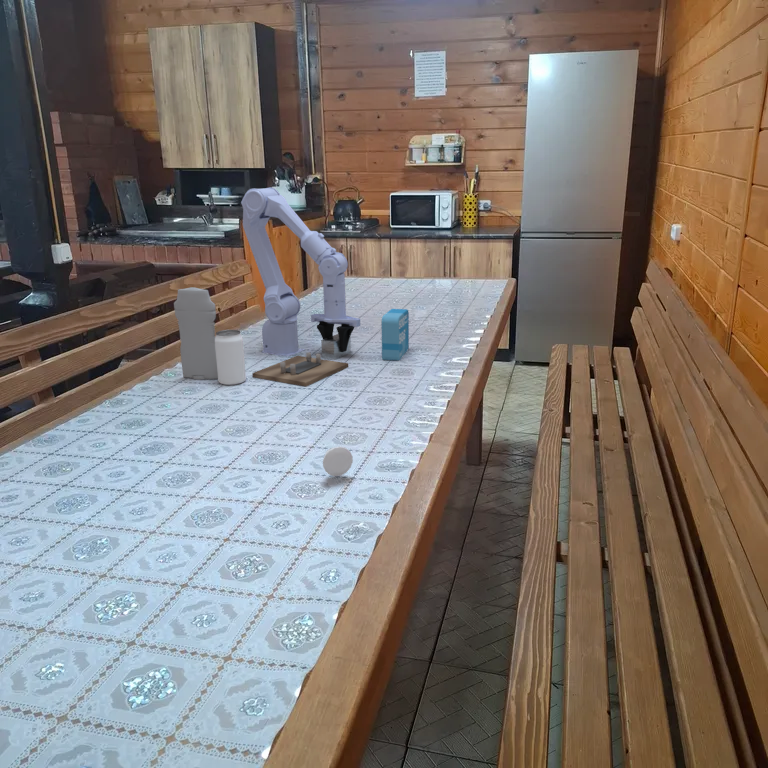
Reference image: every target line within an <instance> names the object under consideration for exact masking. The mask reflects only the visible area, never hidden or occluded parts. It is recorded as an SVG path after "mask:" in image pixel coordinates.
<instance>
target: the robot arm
mask: <svg viewBox="0 0 768 768" xmlns="http://www.w3.org/2000/svg"><path fill="white" fill-rule="evenodd" d="M240 204H241V207H242V209H243V210H242V211H243V212H242V227H243V230H244V233H245V237H246V239H247V243H248V244H249V247H250V250H251V253H252V255H253V257H254V260H255V263H256V267H257V268H258V272H259V274H260V277H261V280H262V282H263V285H264V289H265V292H264V296H263V301H264V306H265V307H264V313H265V316H266V318H267V320H266V321H264V323H263V325H262V328H261V335H262V336H261V337H262V351H261V353H262V354H270V355H276V356H281V357H291V356H293V355H296V354H298V353H301V352H304V351H306V349H305V348H301V347H299V336H298V335H299V333H298V332H299V331H298V317H297V316H298V314H299V313H300V311H301V302H300V300H299V298H298V297H297V296H296V295H295V293H294V292H293V289H292V288H291V287H290V286H289V285H288V284H286V282H285V279H284V276H283V274H282V273H283V272H282V270H281V268H280V265H279V262H278V259H277V257H276V254H275V251H274V249H273V245H272V243H271V240H270V237H269V235H268V232H267V228H266V226H267V224H268V222H269V220H270V218H277V219H279V221H281V222H282V223H283V224H285V226H286V227H287V228H288V229H289V230H290V231H291V232H293V234H294V235H295V236H296V237H298V239H299V240H300V248H302V249H303V251H304V252H305V253H306V254H307V255H308V256H309V257H310V258H311V259H312V260H313V261H314V262H315V264H316V265H317V266H318V271H319V274H320V275H321V276H322V288H323V293H322V294H323V313H312V314H310V321H311V323H318V324H317V325H316V329H317V330H318V332H319V334H320V335H321V338H322V340H323V339H326V338H328V337H331V336H334V328H335V325H338V326H337V327H336V331H337V334H338V335H339V341H340V352H345V351H347V346H348V342H349V338H351V335H352V333H353V331H354V329H355V328H359V327H361V318H357V317H354V316H349V315H347V308H346V307H347V305H346V304H347V303H346V300H347V299H346V276H345V272H346V271H347V269H348V267H349V263H348V260H347V258H346V257H345V254H344V253H342V252H338V251H337V249H336V248H335V247H332V246H331V245H330V244H329V243H328V242H327V240H326V239H325V238H324V237H325V235H324V234H323V233H322V232H318V231H316V230H310V228H309V227H308V226H307V225H306V224H305V222H304V221H303V220H302V218H300V216H299V215H298V214H297V213H296V212H295V210H294V209H293V208H292V206H290V204H289V203H288V201H287V199H286V197H284V196H283V195H282V194H281V193H280V192H279V191H278V190H277V189H276V188H275V187H266V188H249V189H248V190H247V191H246V192H245V194H244V196H243V197H242V200H241V202H240ZM339 325H340V326H339Z"/></svg>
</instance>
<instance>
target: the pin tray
mask: <svg viewBox="0 0 768 768" xmlns="http://www.w3.org/2000/svg"><path fill="white" fill-rule="evenodd" d="M305 355H306V356H302V355H295V356H293V357H291V358H287V359H285V360H281V362H278V363H275V364H272V365H270V366H266V367H265V368H261V369H259V370H257V371H255V372H252V378H256V379H261V380H267V381H272V382H277V383H278V382H279V383H283V384H290V385H296V386H300V387H308V386H310V385H312V384H315V383H317V382H320V381H322V380H324V379H326V378H328V377H330V376H332V375H334V374H337V373H339V372H342V371H343V370H345V369H348V368H349V363H347V362H342V361H335V360H331V359H324V358H322V353H316V354H315V357H312V353H311V352H310V351H307V352H305Z"/></svg>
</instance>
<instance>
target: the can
mask: <svg viewBox="0 0 768 768" xmlns="http://www.w3.org/2000/svg"><path fill="white" fill-rule="evenodd" d="M243 339H244V338H243V336H242V334H241V330H237V329H223V330H219V331H215V351H216V362H217V372H218V379H217V381H218V383H219V384H221V385H224V386H235V385H240V384H243V383H245V381H246V380H247V375H246V373H247V371H246V363H245V362H246V361H245V349H244V340H243Z"/></svg>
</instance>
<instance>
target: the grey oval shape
mask: <svg viewBox="0 0 768 768" xmlns="http://www.w3.org/2000/svg"><path fill="white" fill-rule="evenodd" d="M353 462H354V459H353V455H352V452H351V451H350V450H349V449H348V448H346V447H344V446H335V447H330V448H328V449H327V451H326V452H325V454H324V457H323V459H322V467H323V469H324V471H325V473H327V474H328V475H330V476H331V477H340V476H343V475H345V474H346V473H347V472H348V471H349V470H350V469H351V468H352V465H353Z"/></svg>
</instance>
